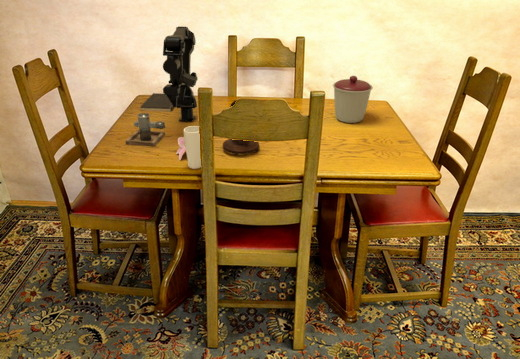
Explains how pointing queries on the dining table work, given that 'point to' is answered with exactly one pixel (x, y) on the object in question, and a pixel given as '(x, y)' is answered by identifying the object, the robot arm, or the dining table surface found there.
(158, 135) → the taupe tray
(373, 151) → the dining table surface
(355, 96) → the canister
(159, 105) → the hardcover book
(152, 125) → the grey ratchet handle
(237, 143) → the dark round disc base
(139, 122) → the polished metal cylinder
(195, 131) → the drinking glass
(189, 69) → the robot arm
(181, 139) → the lily
